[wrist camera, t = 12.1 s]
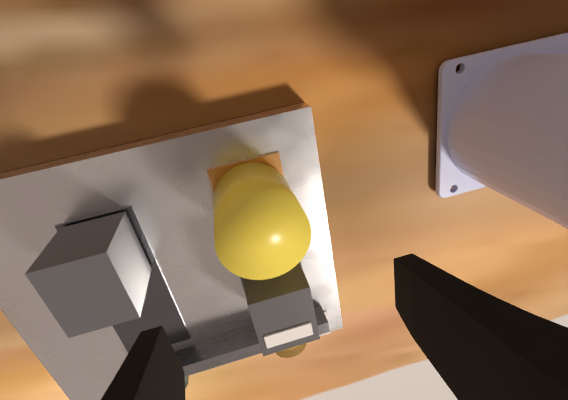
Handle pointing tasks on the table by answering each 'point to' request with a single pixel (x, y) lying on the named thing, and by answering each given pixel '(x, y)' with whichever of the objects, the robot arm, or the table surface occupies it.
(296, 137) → the panel
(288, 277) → the breaker
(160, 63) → the table surface
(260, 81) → the table surface
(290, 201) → the cap
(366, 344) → the table surface
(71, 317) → the block
